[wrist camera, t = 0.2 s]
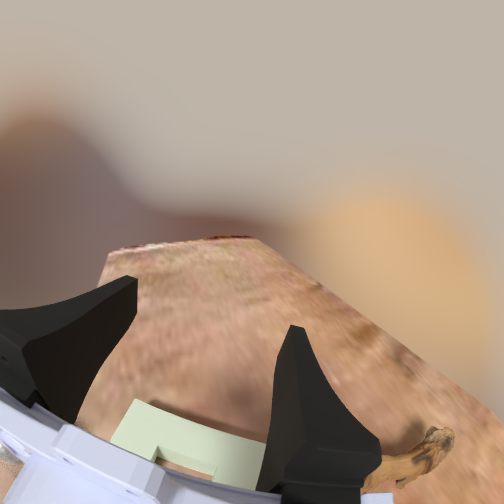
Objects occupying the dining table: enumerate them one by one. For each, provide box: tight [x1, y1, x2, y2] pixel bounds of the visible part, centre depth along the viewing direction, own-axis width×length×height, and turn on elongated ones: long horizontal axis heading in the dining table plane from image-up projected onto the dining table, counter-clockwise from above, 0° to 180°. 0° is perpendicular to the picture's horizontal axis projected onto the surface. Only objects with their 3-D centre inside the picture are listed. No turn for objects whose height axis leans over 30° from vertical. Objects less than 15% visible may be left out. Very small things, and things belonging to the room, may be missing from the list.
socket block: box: [110, 399, 266, 491], centre depth 20 cm, size 14×14×3 cm
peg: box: [0, 443, 25, 478], centre depth 14 cm, size 4×4×7 cm
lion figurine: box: [360, 426, 455, 495], centre depth 23 cm, size 15×5×9 cm, turn 102°
